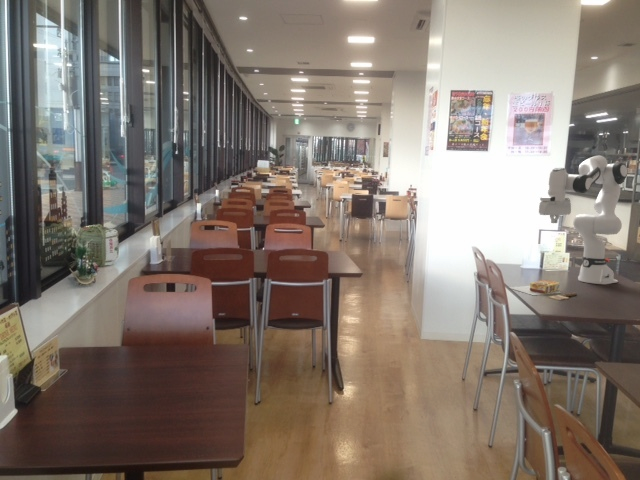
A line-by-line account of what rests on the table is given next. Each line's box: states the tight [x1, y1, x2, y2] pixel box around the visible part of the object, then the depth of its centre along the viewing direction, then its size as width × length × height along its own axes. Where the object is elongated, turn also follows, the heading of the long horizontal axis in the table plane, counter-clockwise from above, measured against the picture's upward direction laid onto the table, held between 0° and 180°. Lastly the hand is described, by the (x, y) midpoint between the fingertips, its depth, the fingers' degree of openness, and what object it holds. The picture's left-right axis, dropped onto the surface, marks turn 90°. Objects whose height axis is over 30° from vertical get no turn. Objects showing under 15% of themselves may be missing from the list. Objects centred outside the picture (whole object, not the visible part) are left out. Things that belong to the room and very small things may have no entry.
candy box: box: [529, 279, 561, 295], centre depth 311 cm, size 9×4×15 cm
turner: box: [548, 291, 578, 301], centre depth 299 cm, size 18×6×1 cm, turn 124°
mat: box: [508, 285, 563, 296], centre depth 312 cm, size 20×18×1 cm
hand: (554, 223), depth 322 cm, fingers closed
